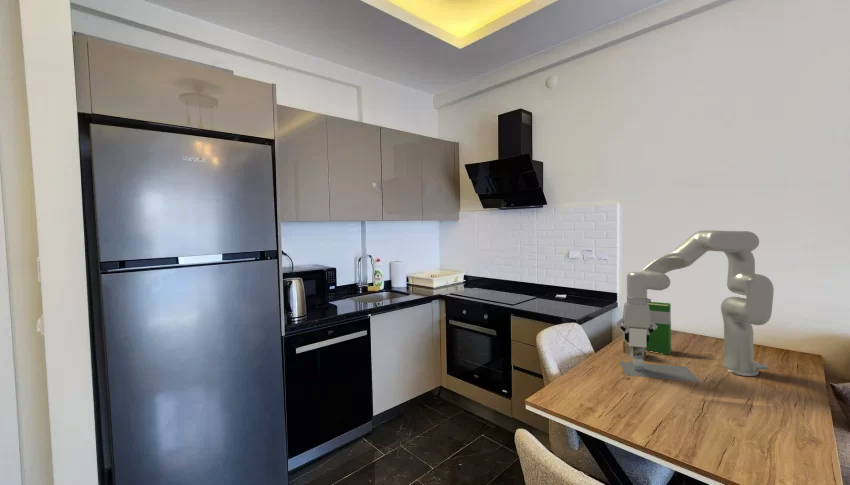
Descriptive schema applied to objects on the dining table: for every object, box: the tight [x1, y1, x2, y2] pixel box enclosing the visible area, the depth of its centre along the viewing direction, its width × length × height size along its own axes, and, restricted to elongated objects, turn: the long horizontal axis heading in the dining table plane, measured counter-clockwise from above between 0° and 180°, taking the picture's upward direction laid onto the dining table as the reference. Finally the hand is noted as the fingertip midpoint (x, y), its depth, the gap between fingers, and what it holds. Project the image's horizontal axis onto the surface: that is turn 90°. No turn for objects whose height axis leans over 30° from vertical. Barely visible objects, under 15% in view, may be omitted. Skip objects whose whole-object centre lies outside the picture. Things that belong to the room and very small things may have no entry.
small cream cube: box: [628, 327, 647, 347], centre depth 156 cm, size 6×6×8 cm
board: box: [619, 361, 701, 383], centre depth 154 cm, size 26×16×2 cm, turn 70°
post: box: [631, 356, 645, 371], centre depth 156 cm, size 4×4×5 cm
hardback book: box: [646, 301, 672, 356], centre depth 183 cm, size 18×7×24 cm, turn 51°
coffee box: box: [622, 323, 647, 359], centre depth 173 cm, size 9×6×16 cm
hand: (636, 342), depth 156 cm, fingers closed on small cream cube, 6 cm apart
